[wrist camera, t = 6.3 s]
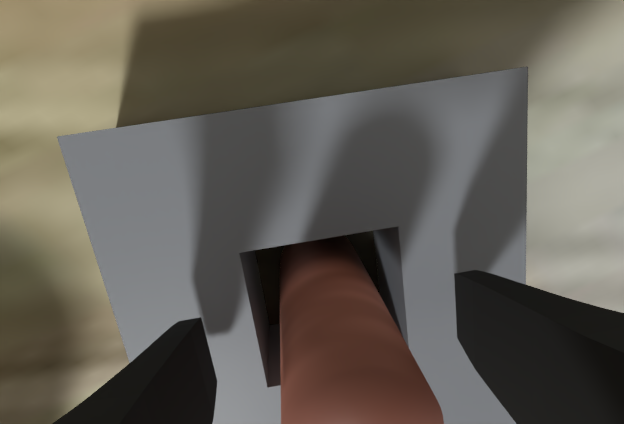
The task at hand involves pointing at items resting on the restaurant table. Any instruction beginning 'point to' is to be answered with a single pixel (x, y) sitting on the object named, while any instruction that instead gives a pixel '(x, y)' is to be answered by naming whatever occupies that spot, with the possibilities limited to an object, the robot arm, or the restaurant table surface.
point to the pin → (343, 344)
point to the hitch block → (311, 220)
